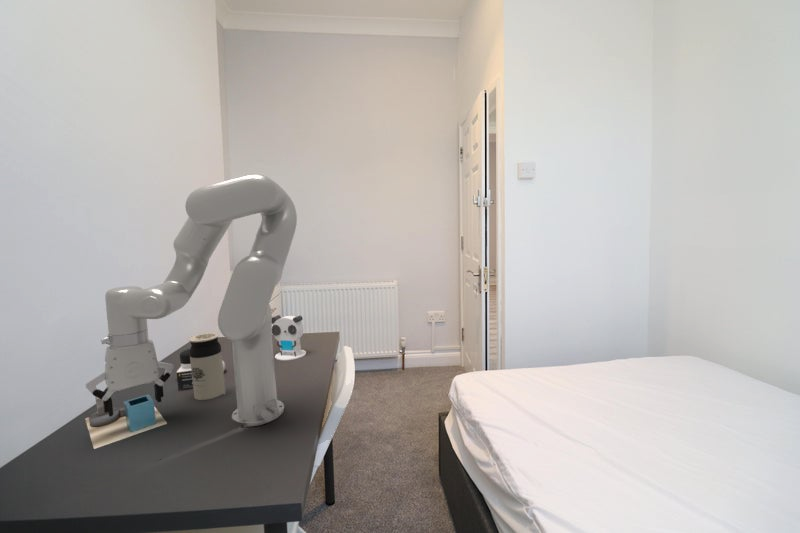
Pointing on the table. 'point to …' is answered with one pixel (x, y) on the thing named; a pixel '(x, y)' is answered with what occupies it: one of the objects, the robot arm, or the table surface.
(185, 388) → the medicine bottle
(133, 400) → the hollow square tube
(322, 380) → the table surface
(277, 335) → the panda figurine
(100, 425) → the door lever plate
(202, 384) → the travel mug
